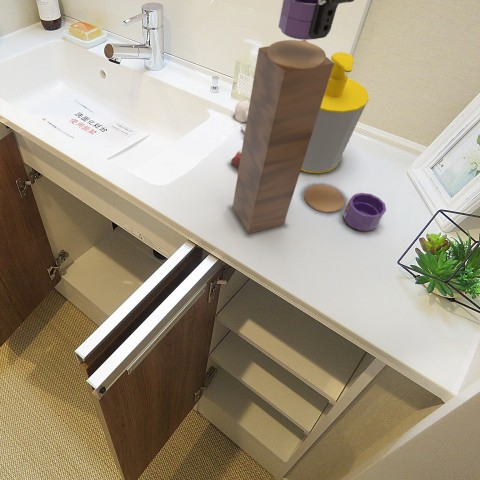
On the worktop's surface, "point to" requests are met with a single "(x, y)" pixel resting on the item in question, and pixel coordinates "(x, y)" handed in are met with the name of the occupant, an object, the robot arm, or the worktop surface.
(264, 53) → the walnut stand
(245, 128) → the rivet
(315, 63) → the coaster top
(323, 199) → the coaster back
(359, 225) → the purple cup
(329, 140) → the soap bottle
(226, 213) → the worktop surface
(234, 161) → the dental model
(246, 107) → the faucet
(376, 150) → the worktop surface
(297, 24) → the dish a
